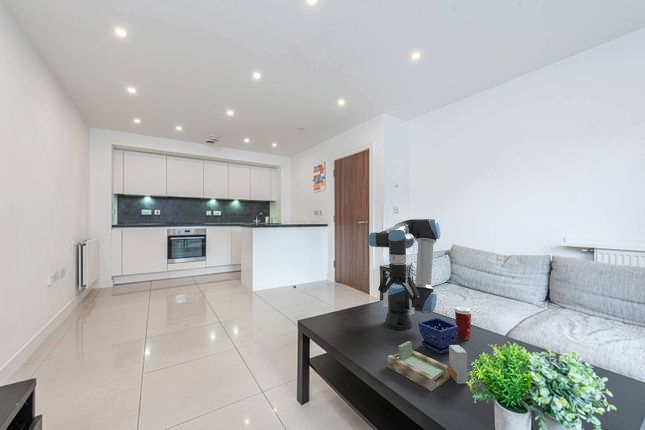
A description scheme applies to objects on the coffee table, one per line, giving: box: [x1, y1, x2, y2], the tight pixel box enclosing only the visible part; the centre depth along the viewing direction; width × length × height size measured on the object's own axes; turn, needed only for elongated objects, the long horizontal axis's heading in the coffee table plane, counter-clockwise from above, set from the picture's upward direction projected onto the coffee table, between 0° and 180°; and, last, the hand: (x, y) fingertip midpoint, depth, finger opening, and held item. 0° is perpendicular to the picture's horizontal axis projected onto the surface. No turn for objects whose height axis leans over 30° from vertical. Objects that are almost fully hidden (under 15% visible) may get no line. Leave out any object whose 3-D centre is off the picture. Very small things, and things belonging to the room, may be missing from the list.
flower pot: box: [417, 317, 458, 355], centre depth 128 cm, size 13×13×12 cm
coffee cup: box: [453, 306, 473, 341], centre depth 139 cm, size 8×8×15 cm
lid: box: [396, 340, 444, 380], centre depth 108 cm, size 18×8×7 cm, turn 37°
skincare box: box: [448, 344, 469, 385], centre depth 103 cm, size 6×4×12 cm
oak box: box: [387, 349, 451, 392], centre depth 108 cm, size 20×13×4 cm, turn 37°
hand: (398, 310), depth 120 cm, fingers open, 13 cm apart
